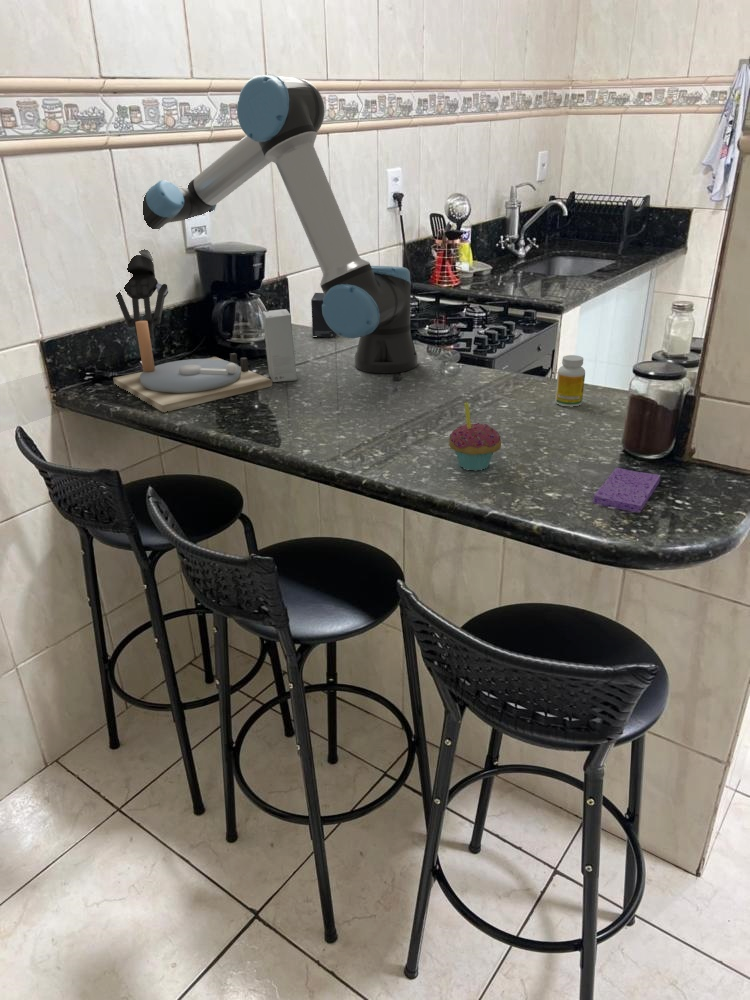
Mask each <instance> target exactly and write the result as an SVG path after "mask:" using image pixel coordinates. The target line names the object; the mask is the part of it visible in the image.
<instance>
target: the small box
mask: <svg viewBox="0 0 750 1000" xmlns="http://www.w3.org/2000/svg"><path fill="white" fill-rule="evenodd" d="M324 296H325V295H324V293H323V292H315V293H313V296H312V297H311V300H310V301H311V302H310V305H311V324H312V325H311V327H312V332H311V333H312V337H313V336H317V337H334V338H335V337H336V334H337V333H335V332H334V331H333V330H332V329H331V328H330V327H329V326H328V325H327V323H326V321H325V319H324V317H323V313H322V304H323V298H324Z"/></svg>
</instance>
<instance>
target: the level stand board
mask: <svg viewBox="0 0 750 1000" xmlns="http://www.w3.org/2000/svg"><path fill="white" fill-rule="evenodd" d="M229 358H230V359H229V362H233V363H235V364H237V365H238V366H239V364H238V363H239V362H240V366H239V367H240V371H241V376H240V377H239V379H237V380H236V381H234V382H233V383H231V384H228V385H225V386H222V387H219V388H215V389H210V390H204V391H197V392H185V393H168V392H159V391H153V390H150V389H147V388H145V387H143V386H142V385H141V382H140V375H141V373H142V372H143V371H140V372H134V373H130V374H125V375H121V376H115V377H113V378H112V379H113V385H115V384H116V385H117V387H118V386H119V387H118V388H120V389H122V390H123V389H124V390H123V391H125V390H126V391H125V392H127V391H128V392H127V393H129V392H130V393H131V394H130V393H129V394H130V395H132V394H133V396H134V395H135V396H134V397H136V398H137V397H138V398H137V399H139V398H140V400H141V401H143V402H144V401H145V402H144V403H146V402H147V404H148V405H149V406H151V405H152V406H151V407H153V408H155V409H156V410H158V411H160V412H162V413H163V412H164V413H167V411H168V412H172V411H174V410H175V411H176V410H179V409H183V408H187V407H192V406H196V405H199V404H200V405H201V404H204V403H209V402H213V401H217V400H220V399H221V400H222V399H225V398H229V397H232V396H238V395H242V394H245V393H250V392H253V391H257V390H262V389H266V388H270V387H273V382H272V379H271V378H268V377H266V376H264V375H261V374H259V373H256V372H254V371H251V370H249V362H248V358H247V357H240V358H239V360H240V361H239V362H238V354H237V353H235V352H233V353H231V352H230V353H229ZM205 359H218V360H223V359H222V358H219V357H217V356H212V357H207V358H205ZM116 385H115V386H116Z"/></svg>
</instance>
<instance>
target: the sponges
mask: <svg viewBox="0 0 750 1000" xmlns="http://www.w3.org/2000/svg"><path fill="white" fill-rule="evenodd" d="M660 481H661V474H656V473H655V474H654V473H649V472H642V471H641V472H640V471H636V470H635V471H634V470H629V469H625V468H619V467H615V469H614V470H613V471H612V473H611V474H610V475H609V477H608V478H607V479H606V480H604V484H603V483H602V485H601V486H600V487H599V488H598V490H596V492H595V493H594V495H593V499H592V500H593V501H592V504H595V505H598V506H599V505H600V506H603V507H604V506H605V507H610V508H614V509H618V510H619V509H620V510H623V511H629V512H631V513H639V514H640V513H641V512H642V510H643V509H644V507H645V505H646V504H647V502H648V500H649V499H650V497H651V496H652V494H654V491H655V490H656V488H658V486H659V483H660Z"/></svg>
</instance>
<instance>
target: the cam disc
mask: <svg viewBox="0 0 750 1000" xmlns="http://www.w3.org/2000/svg"><path fill="white" fill-rule="evenodd" d="M135 324H136V330H137V336H138V340H137V341H138V347H139V348H138V349H139V353H140V358H141V359H140V360H141V365H142V366H141V367H142V371H141V372H142V373H141V375H140V382H141V385H142V386H143V387H145V388H147V389H150V390H153V391H159V392H168V393H185V392H197V391H204V390H210V389H215V388H219V387H222V386H225V385H228V384H231V383H233V382H234V381H236V380H237V379H239V377H240V376H241V371H240V367H241V366H239V364H238V365H237V364H235V363H233V362H230V360H229V361H228V360H224V359H222V360H218V359H206V358H191V359H190V358H189V359H182V360H174V361H169V362H164V363H161V364H157V365H155V361H154V354H153V349H152V339H150V334H149V327H148V321H146V320H140V321H137V322H135Z"/></svg>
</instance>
